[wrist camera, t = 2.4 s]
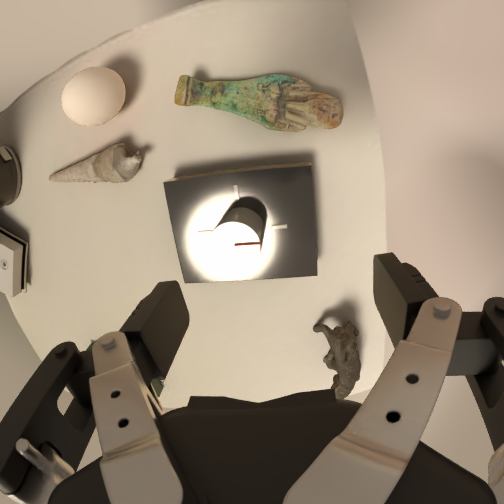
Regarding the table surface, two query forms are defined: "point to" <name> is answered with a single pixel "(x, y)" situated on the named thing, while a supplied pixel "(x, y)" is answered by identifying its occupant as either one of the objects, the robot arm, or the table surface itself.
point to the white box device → (12, 263)
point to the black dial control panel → (257, 199)
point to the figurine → (265, 101)
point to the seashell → (102, 167)
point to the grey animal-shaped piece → (342, 357)
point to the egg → (93, 96)
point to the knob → (237, 240)
